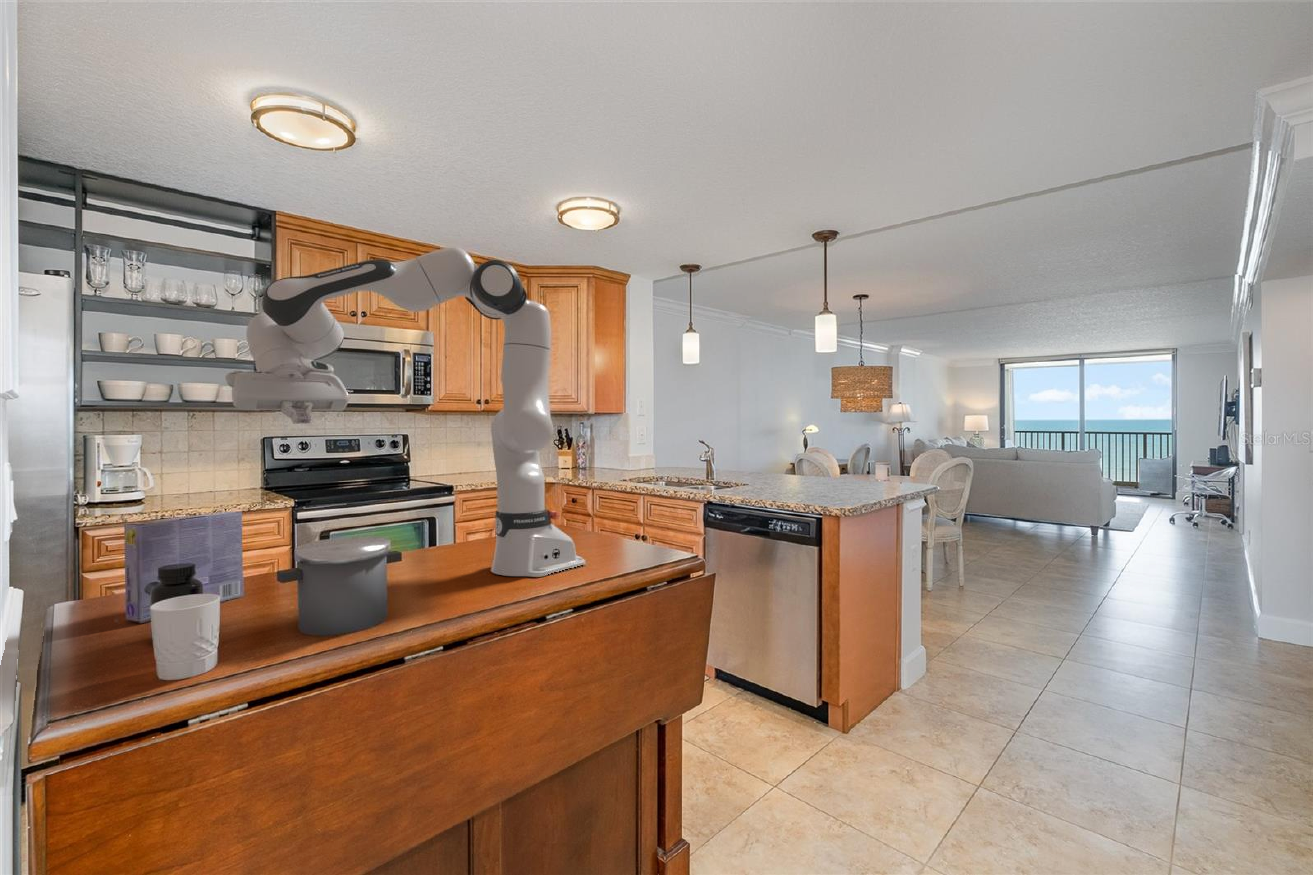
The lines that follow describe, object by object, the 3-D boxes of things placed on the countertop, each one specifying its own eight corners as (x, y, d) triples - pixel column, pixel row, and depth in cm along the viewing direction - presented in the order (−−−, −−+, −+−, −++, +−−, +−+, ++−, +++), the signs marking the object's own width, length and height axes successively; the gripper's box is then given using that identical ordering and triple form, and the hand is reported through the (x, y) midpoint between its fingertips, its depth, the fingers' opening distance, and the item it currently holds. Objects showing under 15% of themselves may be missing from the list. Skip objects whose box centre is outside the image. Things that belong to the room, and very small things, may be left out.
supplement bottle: (207, 638, 98) (205, 566, 97) (153, 649, 93) (151, 573, 93) (201, 627, 103) (199, 559, 102) (149, 638, 98) (147, 566, 97)
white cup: (167, 687, 80) (165, 614, 80) (141, 675, 84) (139, 605, 83) (232, 666, 87) (231, 598, 86) (205, 655, 91) (203, 590, 90)
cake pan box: (235, 592, 124) (232, 508, 123) (250, 595, 122) (248, 509, 121) (123, 621, 106) (120, 523, 105) (139, 625, 104) (136, 525, 103)
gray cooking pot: (383, 600, 118) (381, 540, 117) (417, 615, 109) (416, 550, 108) (267, 627, 103) (265, 558, 102) (295, 647, 94) (294, 572, 93)
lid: (369, 541, 116) (368, 533, 115) (405, 552, 106) (405, 543, 106) (281, 554, 104) (281, 545, 104) (314, 569, 94) (313, 559, 94)
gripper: (226, 358, 113) (243, 409, 107) (340, 365, 129) (360, 410, 123) (220, 382, 116) (236, 433, 110) (332, 387, 132) (351, 431, 126)
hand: (302, 421), depth 117 cm, fingers closed
